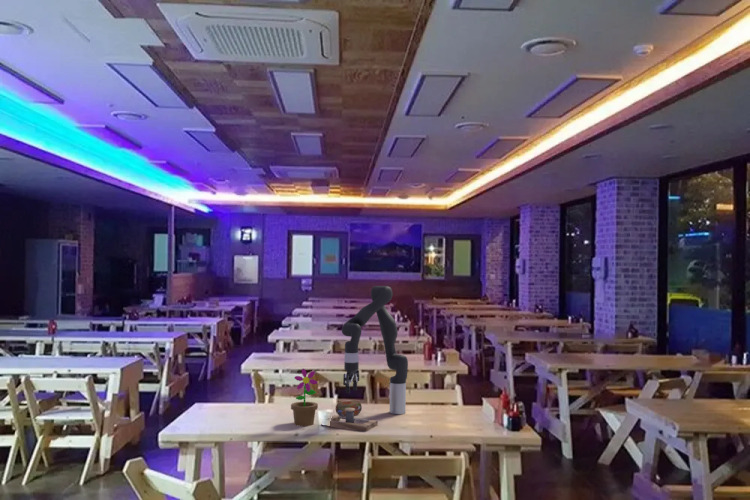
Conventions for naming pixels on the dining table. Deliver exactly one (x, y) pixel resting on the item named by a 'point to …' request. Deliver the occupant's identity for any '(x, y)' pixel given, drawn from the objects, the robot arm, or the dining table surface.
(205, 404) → the dining table surface
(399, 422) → the dining table surface
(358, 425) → the framed panel with rod
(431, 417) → the dining table surface
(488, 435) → the dining table surface
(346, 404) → the tin
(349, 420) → the spool
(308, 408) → the flowerpot
